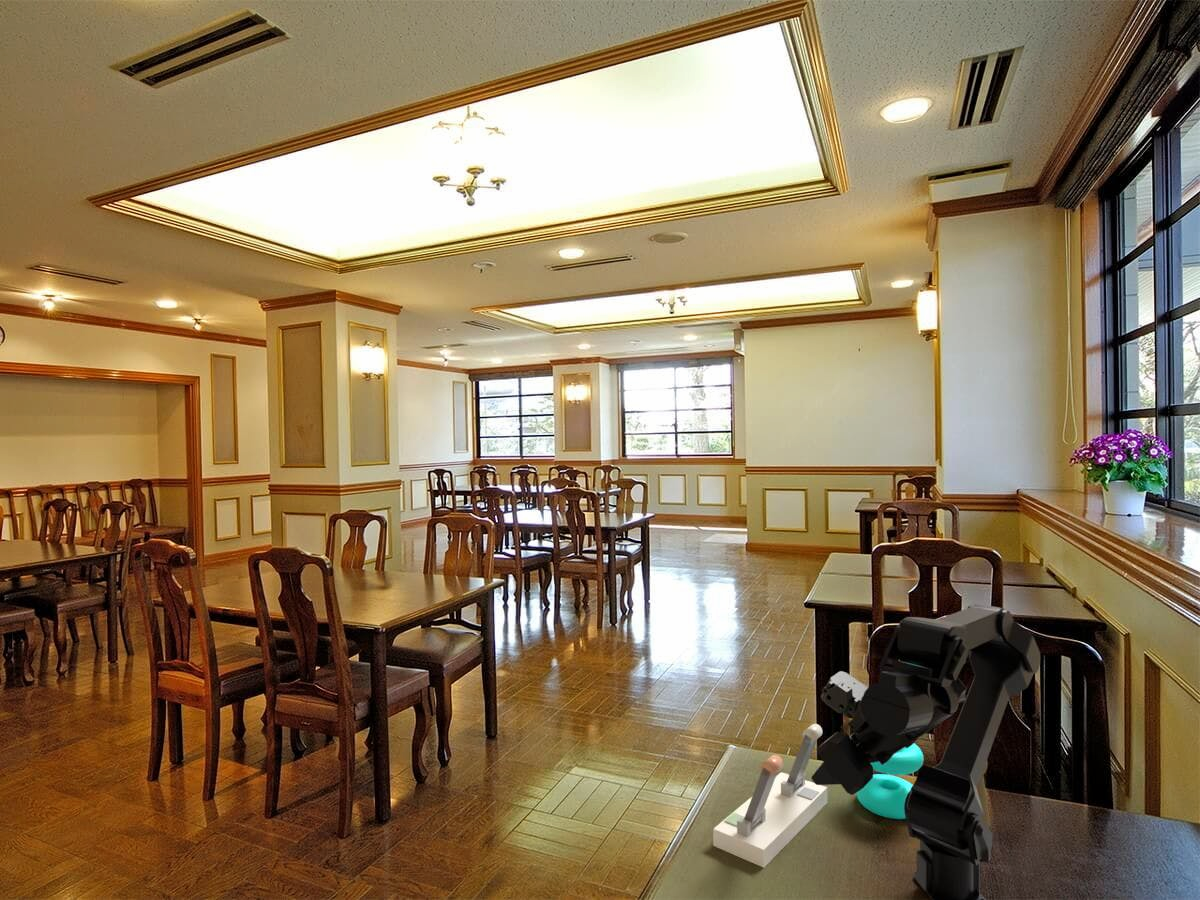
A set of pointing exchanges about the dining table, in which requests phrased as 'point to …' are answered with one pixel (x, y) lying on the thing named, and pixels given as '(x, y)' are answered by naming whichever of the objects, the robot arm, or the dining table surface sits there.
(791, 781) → the grey lever
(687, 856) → the dining table surface
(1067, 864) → the dining table surface
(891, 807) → the teal curved piece
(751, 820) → the terracotta lever
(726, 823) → the switch unit
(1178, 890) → the dining table surface
